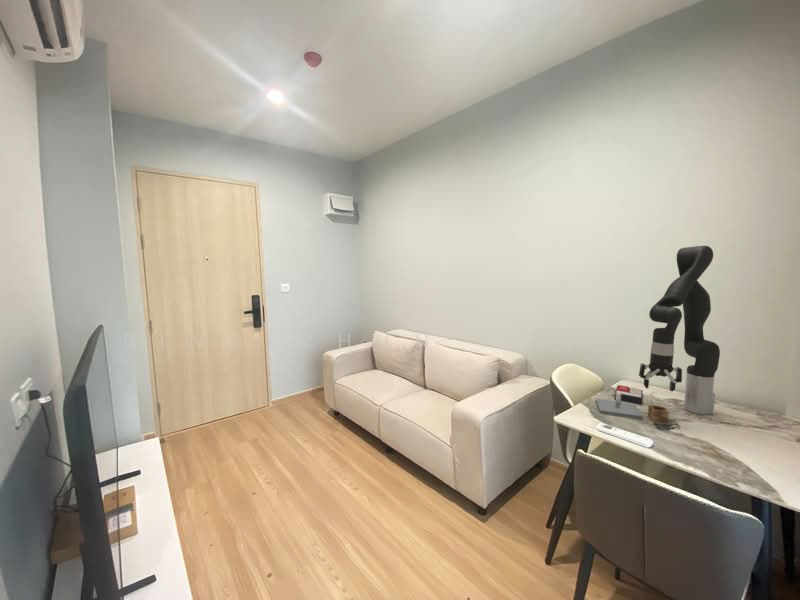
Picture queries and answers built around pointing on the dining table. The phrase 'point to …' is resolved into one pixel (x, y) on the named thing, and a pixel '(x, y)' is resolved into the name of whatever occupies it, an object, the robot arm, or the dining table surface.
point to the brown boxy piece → (658, 413)
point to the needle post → (618, 399)
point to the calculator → (630, 394)
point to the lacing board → (618, 409)
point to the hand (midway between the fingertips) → (658, 389)
